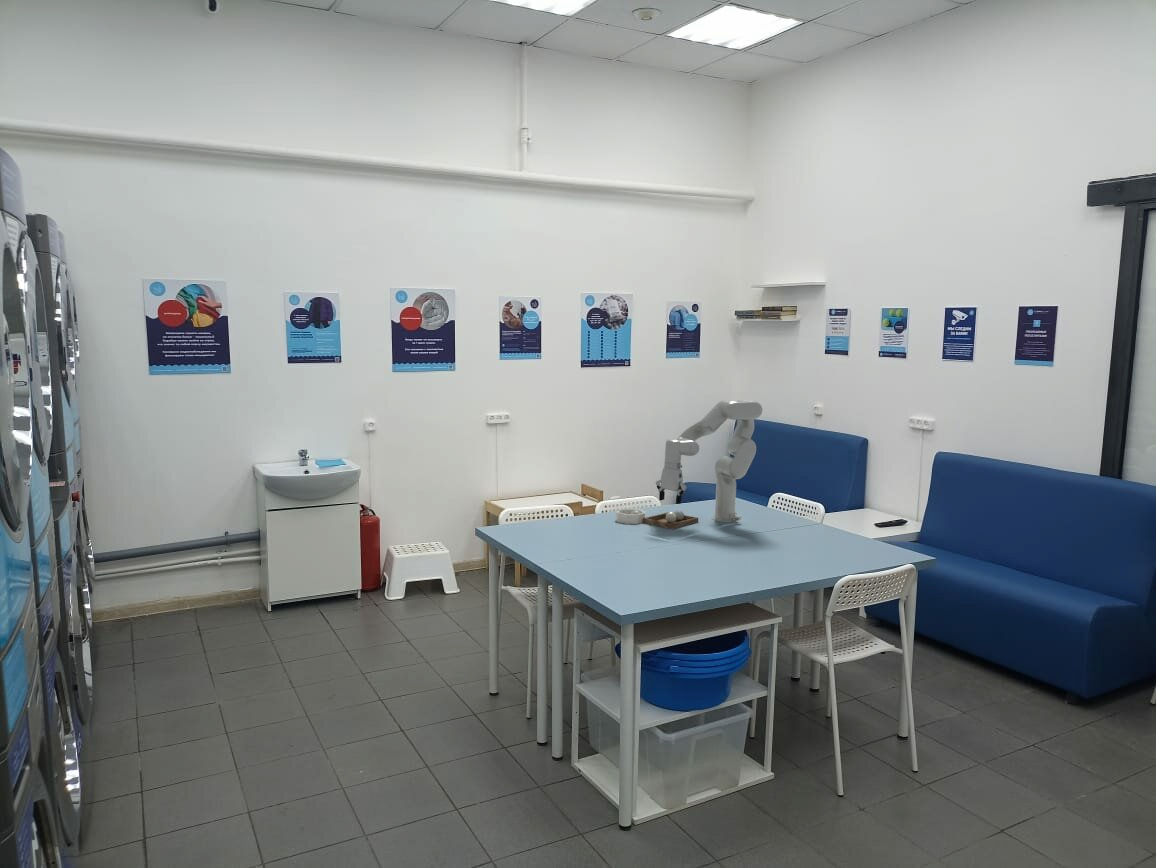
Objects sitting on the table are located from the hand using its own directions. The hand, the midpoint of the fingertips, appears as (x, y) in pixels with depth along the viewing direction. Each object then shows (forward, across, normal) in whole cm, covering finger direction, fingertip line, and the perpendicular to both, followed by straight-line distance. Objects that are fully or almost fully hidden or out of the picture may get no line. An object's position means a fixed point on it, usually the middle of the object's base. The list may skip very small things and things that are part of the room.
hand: (669, 501), depth 382 cm
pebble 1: (+10, 0, -1) cm, 10 cm away
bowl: (+11, +15, +10) cm, 21 cm away
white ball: (+10, +15, +8) cm, 20 cm away
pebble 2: (+10, 0, -8) cm, 12 cm away
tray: (+11, 0, -1) cm, 11 cm away
